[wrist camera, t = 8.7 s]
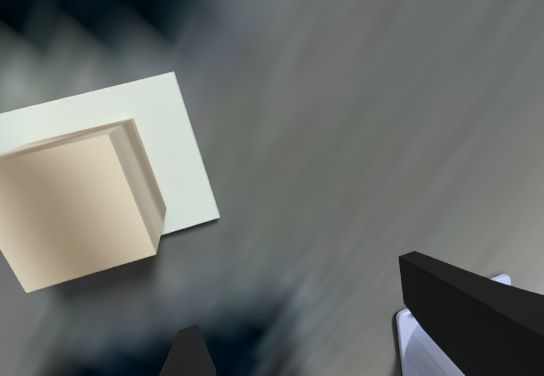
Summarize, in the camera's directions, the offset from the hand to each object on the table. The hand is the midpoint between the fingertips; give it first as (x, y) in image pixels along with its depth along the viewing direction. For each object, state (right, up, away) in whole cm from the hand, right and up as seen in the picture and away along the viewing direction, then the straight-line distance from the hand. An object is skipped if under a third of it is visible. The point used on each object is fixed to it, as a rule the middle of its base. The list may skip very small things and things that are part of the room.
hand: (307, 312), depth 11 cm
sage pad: (-10, +5, +6) cm, 13 cm away
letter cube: (-10, +5, +6) cm, 12 cm away
